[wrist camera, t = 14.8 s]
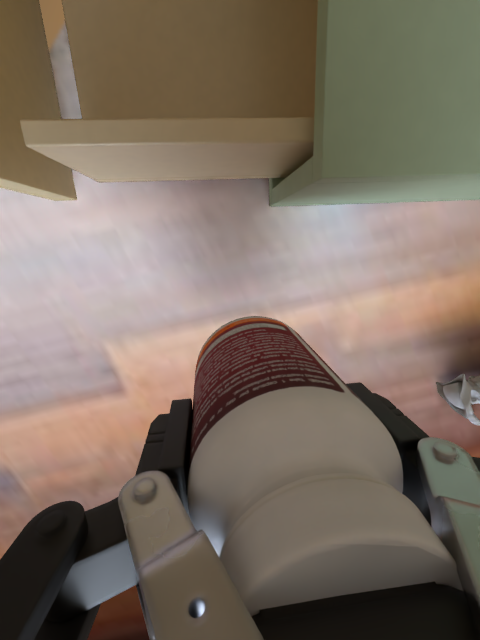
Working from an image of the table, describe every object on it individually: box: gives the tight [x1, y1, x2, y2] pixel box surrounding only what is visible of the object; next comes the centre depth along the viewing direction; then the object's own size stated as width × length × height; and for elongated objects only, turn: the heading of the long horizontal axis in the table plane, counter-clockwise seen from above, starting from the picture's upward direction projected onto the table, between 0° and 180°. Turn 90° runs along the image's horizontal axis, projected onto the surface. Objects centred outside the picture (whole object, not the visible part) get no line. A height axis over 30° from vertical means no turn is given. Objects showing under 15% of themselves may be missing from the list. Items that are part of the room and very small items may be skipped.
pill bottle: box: [187, 316, 463, 616], centre depth 10 cm, size 6×6×11 cm
